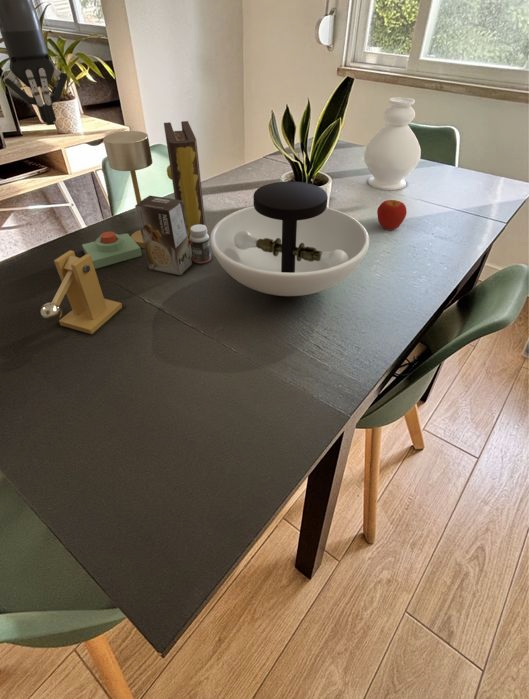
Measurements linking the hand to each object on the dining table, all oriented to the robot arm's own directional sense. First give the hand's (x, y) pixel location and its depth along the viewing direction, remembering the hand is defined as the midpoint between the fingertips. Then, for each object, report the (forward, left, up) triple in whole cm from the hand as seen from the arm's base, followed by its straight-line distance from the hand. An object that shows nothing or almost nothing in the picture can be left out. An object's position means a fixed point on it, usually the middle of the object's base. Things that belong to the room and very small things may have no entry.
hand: (50, 124), depth 95 cm
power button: (+4, -10, -25) cm, 28 cm away
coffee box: (+14, -24, -29) cm, 40 cm away
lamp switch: (-11, -36, -21) cm, 43 cm away
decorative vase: (+98, -13, -29) cm, 103 cm away
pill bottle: (+22, -25, -29) cm, 44 cm away
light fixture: (+33, -47, -29) cm, 64 cm away
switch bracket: (-8, -34, -29) cm, 45 cm away
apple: (+74, -38, -29) cm, 88 cm away
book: (+28, -6, -29) cm, 41 cm away
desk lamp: (+14, -8, -29) cm, 33 cm away
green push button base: (+4, -10, -29) cm, 31 cm away
